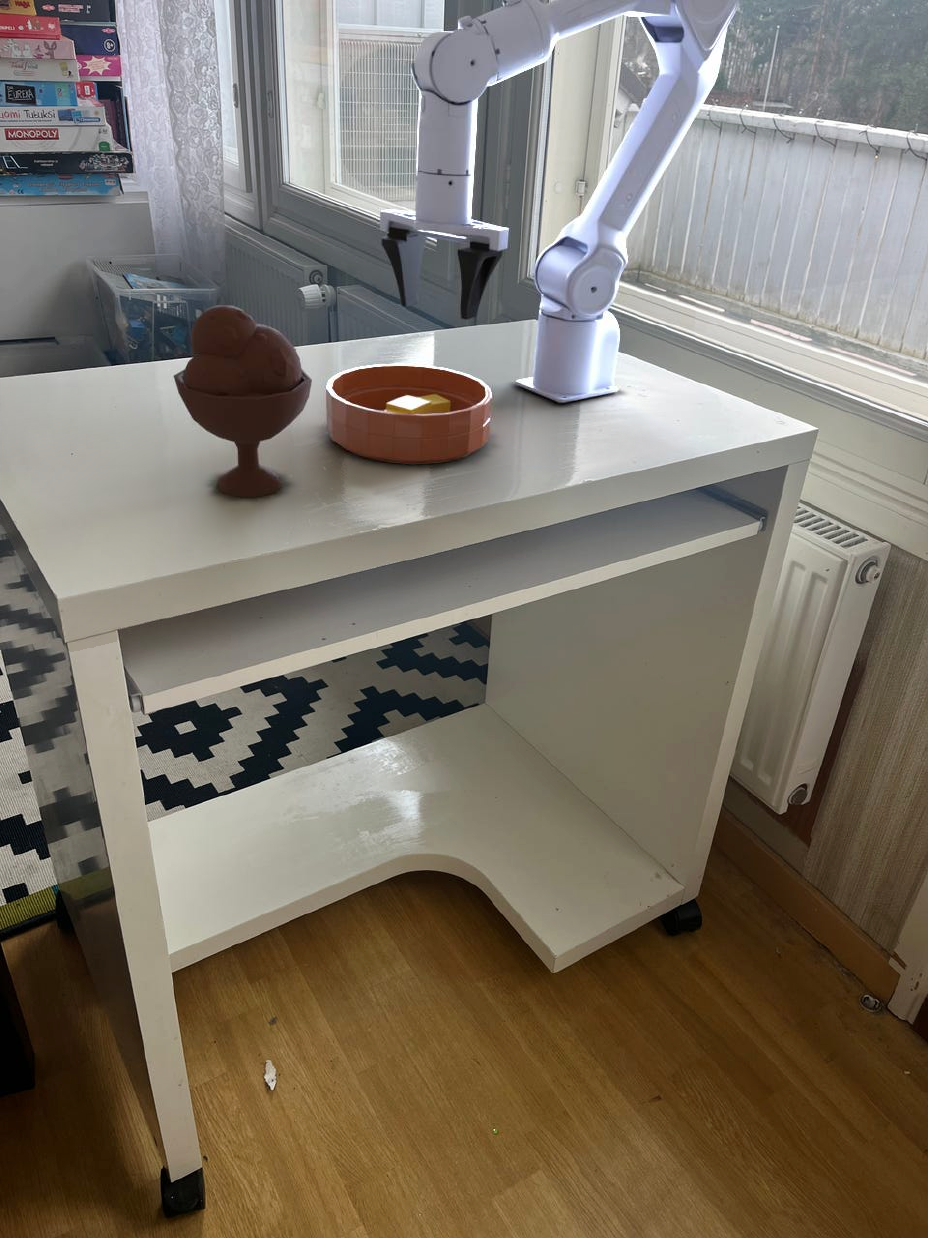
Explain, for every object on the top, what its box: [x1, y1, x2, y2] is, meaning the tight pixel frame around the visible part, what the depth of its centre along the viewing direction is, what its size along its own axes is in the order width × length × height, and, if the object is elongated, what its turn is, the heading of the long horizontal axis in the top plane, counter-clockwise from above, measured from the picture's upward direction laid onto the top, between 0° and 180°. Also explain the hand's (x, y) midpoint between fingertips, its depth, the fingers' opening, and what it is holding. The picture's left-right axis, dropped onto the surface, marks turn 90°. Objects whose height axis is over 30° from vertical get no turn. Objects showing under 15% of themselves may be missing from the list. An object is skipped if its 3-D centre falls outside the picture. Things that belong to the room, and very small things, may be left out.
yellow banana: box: [384, 394, 450, 414], centre depth 94 cm, size 10×4×3 cm, turn 148°
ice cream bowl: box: [173, 304, 313, 498], centre depth 79 cm, size 11×11×15 cm
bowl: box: [325, 363, 493, 465], centre depth 94 cm, size 16×16×5 cm
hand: (438, 311), depth 102 cm, fingers open, 7 cm apart
